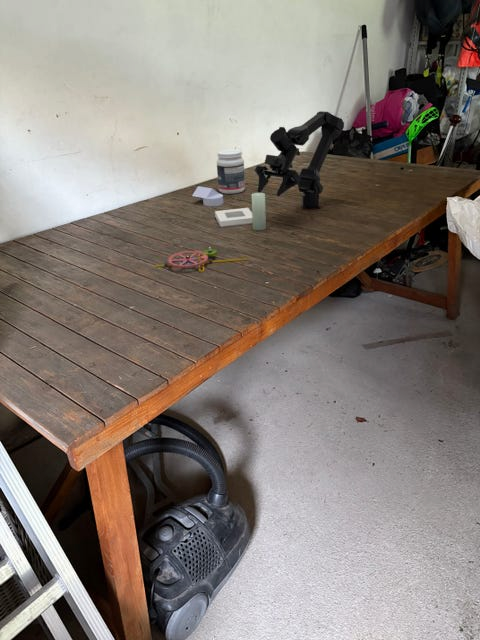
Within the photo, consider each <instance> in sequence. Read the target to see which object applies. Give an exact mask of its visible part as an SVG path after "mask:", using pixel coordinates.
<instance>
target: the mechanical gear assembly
mask: <svg viewBox="0 0 480 640" xmlns="http://www.w3.org/2000/svg"><path fill="white" fill-rule="evenodd" d="M187 254H191V255H187ZM217 254H218V251H217V249H212V247H211V246H209V247H208V249H205V250H204V251H197V250H186V251H181V252H177V253H174V254H172V255H170V256H169V257H168V258H167V261H165V262H164V264H156V265H155V266H154V267H155V268H163V267H164V268H168V267H173V268H177V269H178V268H180V269H189V268H195V267H198V272H199V273H205V265H207V264H215V263H226V262H229V263H230V262H241V261H242V262H243V261H248V258H247V257H245V258H232V259H219V260H218V259H217V260H213V259H212V258H209V257H213V256H216V255H217ZM185 255H186V256H185ZM196 255H198V257H195V256H196ZM178 256H179V257H181V258H179V259H178V258H177V259H174V258H175V257H178ZM174 262H177V263H174ZM201 266H202V269H201Z"/></svg>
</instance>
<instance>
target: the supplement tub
mask: <svg viewBox="0 0 480 640" xmlns="http://www.w3.org/2000/svg"><path fill="white" fill-rule="evenodd" d="M242 156H243V151H242V150H241V149H223V150H222V149H221V150H219V151H218V152H217V157H218V158H217V160H216V173H217V174H216V175H217V187H218V191H219V193H221V194H227V195H232V194H239V193H240V194H241V192H244V190H245V189H246V183H245V181H246V180H245V161H244V158H243V157H242Z"/></svg>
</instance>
